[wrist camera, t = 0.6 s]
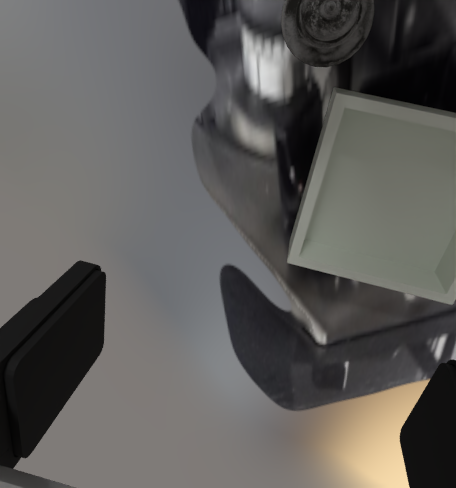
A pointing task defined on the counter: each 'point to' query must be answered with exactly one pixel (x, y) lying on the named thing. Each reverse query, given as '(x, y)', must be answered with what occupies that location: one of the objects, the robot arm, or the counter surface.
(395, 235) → the sage bin
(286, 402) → the counter surface
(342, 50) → the salt shaker
